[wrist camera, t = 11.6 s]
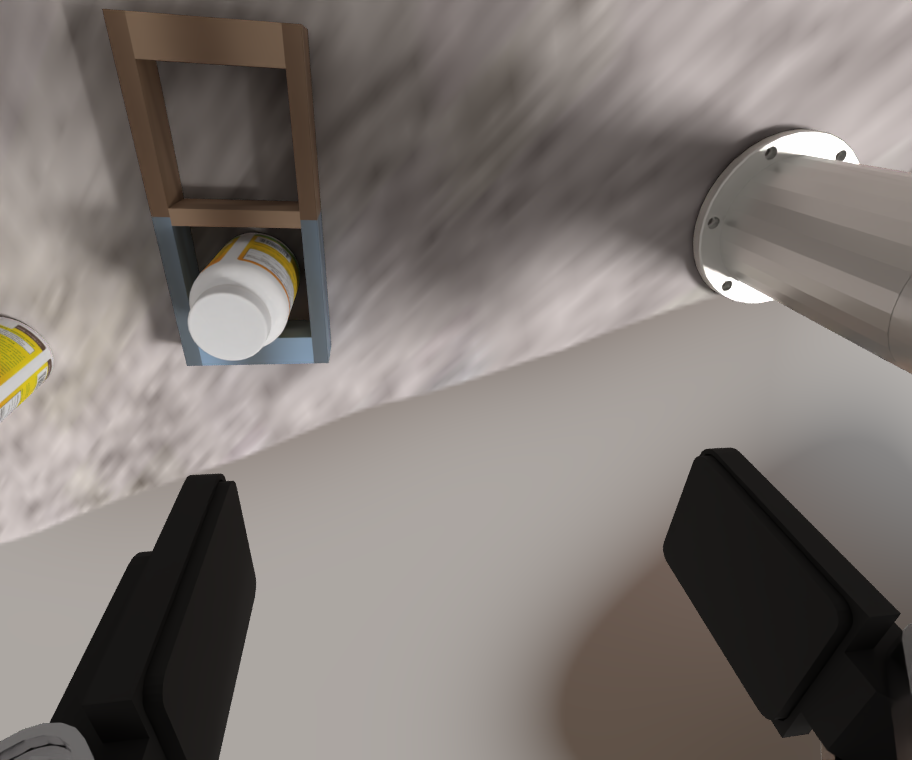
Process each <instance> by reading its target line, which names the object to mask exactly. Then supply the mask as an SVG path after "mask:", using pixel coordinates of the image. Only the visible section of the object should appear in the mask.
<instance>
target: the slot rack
mask: <svg viewBox="0 0 912 760" xmlns="http://www.w3.org/2000/svg"><path fill="white" fill-rule="evenodd" d="M102 10H103V15H104V19H105V23H106V27H107V31H108V36H109V40H110V44H111V48H112V52H113V57H114V61H115V65H116V69H117V73H118V78H119V82H120V86H121V90H122V94H123V99H124V103H125V107H126V111H127V115H128V120H129V124H130V128H131V132H132V137H133V141H134V145H135V149H136V153H137V158H138V162H139V166H140V170H141V174H142V179H143V183H144V187H145V191H146V195H147V200H148V204H149V208H150V212H151V216H152V221H153V225H154V229H155V233H156V237H157V242H158V246H159V250H160V254H161V259H162V263H163V267H164V271H165V275H166V280H167V284H168V288H169V292H170V296H171V301H172V305H173V309H174V313H175V317H176V322H177V326H178V330H179V334H180V338H181V343H182V347H183V351H184V355H185V359H186V364H187V366H202V365H251V364H300V363H329V357H330V350H331V334H330V321H329V307H328V294H327V281H326V268H325V254H324V241H323V228H322V215H321V201H320V188H319V175H318V161H317V148H316V135H315V122H314V108H313V95H312V82H311V69H310V55H309V42H308V29H307V28H305V27H304V26H303V25H302V24H291V23H278V22H265V21H252V20H239V19H226V18H213V17H201V16H188V15H175V14H162V13H149V12H136V11H123V10H110V9H102ZM156 61H169V62H185V63H200V64H216V65H231V66H247V67H262V68H278V69H286V76H287V87H288V97H289V108H290V118H291V128H292V139H293V149H294V160H295V170H296V180H297V191H298V201H265V200H227V199H189V198H184V196H183V191H182V186H181V181H180V176H179V171H178V166H177V161H176V156H175V152H174V147H173V142H172V137H171V132H170V127H169V122H168V117H167V112H166V107H165V102H164V97H163V92H162V88H161V83H160V78H159V73H158V68H157V63H156ZM190 226H202V227H256V228H301V232H302V243H303V253H304V264H305V274H306V285H307V295H308V305H309V316H310V320H288V321H287V323H286V326H285V328H284V330H283V331H282V333H281V334H280V335H279V336H278V337H277V338H276V339H275V340H274V341H273V342H271V343H270V344H268V345H266V346H264V347H262V348H261V349H260V351H259V352H257V353H256V354H255V355H253V356H251V357H249V358H246V359H243V360H236V361H230V360H223V359H219V358H216V357H214V356H211V355H210V354H208V353H206V352H205V351H203V350H202V349H201V348H200V347H199V346H198V345H197V344H196V343H195V342H194V340H193V338H192V337H191V334H190V332H189V329H188V315H189V311H190V305H189V297H190V291H191V288H192V286H193V283H194V282H195V280H196V279H197V277H198V276H199V270H198V265H197V260H196V255H195V250H194V245H193V240H192V235H191V230H190Z"/></svg>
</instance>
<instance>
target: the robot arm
mask: <svg viewBox="0 0 912 760" xmlns="http://www.w3.org/2000/svg"><path fill="white" fill-rule="evenodd" d="M693 251H694V258H695V262H696V267H697V269H698V271H699V273H700V275H701V277H702V279H703V280H704V281H705V283H706V284H707V285H708V286H709V287H710V288H711V289H712V290H714V291H715V292H717V293H718V294H720V295H721V296H723V297H726V298H728V299H730V300H732V301H736V302H740V303H762V302H767V301H772V300H775V301H777V302H779V303H781V304H783V305H784V306H787V307H788V308H790V309H792V310H794V311H795V312H797V313H799V314H801V315H803V316H805V317H807V318H809V319H810V320H812V321H814V322H816V323H818V324H819V325H821V326H823V327H825V328H827V329H829V330H831V331H832V332H835V333H836V334H838V335H840V336H842V337H843V338H845V339H847V340H849V341H851V342H853V343H855V344H856V345H858V346H860V347H862V348H864V349H866V350H867V351H869V352H871V353H873V354H875V355H877V356H879V357H880V358H882V359H884V360H886V361H888V362H890V363H892V364H894V365H895V366H897V367H899V368H901V369H903V370H905V371H907V372H909V373H911V374H912V173H910V172H904V171H898V170H892V169H886V168H880V167H874V166H868V165H862V164H859V161H858V159H857V157H856V155H855V154H854V152H853V150H852V149H851V148H850V147H849V146H848V145H847V144H846V143H845V142H844V141H843V140H842V139H840V138H838V137H836V136H834V135H832V134H830V133H827V132H822V131H816V130H803V129H797V130H791V131H785V132H781V133H778V134H775V135H773V136H770V137H767V138H765V139H763V140H762V141H760V142H758V143H756V144H755V145H753V146H751V147H750V148H748V149H747V150H746V151H744V152H743V153H742V154H741V155H740V156H738V157H737V158H736V159H735V160H734V161H733V162H732V163H731V164H730V165H729V166H728V167H727V168H726V169H725V170H724V171H723V172H722V174H721V175H720V176H719V177H718V179H717V180H716V182H715V183H714V185H713V186H712V188H711V189H710V190H709V192H708V194H707V196H706V198H705V200H704V202H703V204H702V206H701V209H700V212H699V215H698V218H697V221H696V225H695V231H694V238H693ZM663 552H664V556H665V559H666V561H667V563H668V565H669V566H670V568H671V569H672V571H673V573H674V574H675V576H676V577H677V579H678V581H679V582H680V584H681V585H682V587H683V588H684V590H685V592H686V594H687V595H688V597H689V599H690V600H691V602H692V603H693V605H694V607H695V608H696V610H697V611H698V613H699V615H700V616H701V618H702V619H703V621H704V623H705V624H706V626H707V628H708V629H709V631H710V632H711V634H712V636H713V637H714V639H715V641H716V642H717V644H718V645H719V647H720V649H721V650H722V652H723V654H724V655H725V657H726V658H727V660H728V662H729V663H730V665H731V666H732V668H733V670H734V671H735V673H736V675H737V676H738V678H739V679H740V681H741V683H742V684H743V685H744V688H745V689H746V691H747V692H748V694H749V696H750V697H751V699H752V700H753V702H754V704H755V705H756V707H757V708H758V710H759V711H760V712H761V714H762V715H763V716H765V718H767V719H769V720H771V721H772V722H773V724H774V726H775V727H776V729H777V730H778V732H779V734H780V735H781V737H782V738H785V737H791V736H798V735H805V734H809V732H810V731H811V730H812V729H813V731H814V732H815V734H816V735H817V737H818V738H819V740H820V741H821V760H912V624H909V625H908V626H907V627H906V628H905V629H904V630H903V631H902V630H901V629H900V628H899V627H898V626H897V625H896V624H895V623H894V622H895V621H896V619H897V618H898V617H899V615H900V612H899V611H898V610H896V609H895V607H894V606H893V605H892V604H891V603H890V602H889V601H888V600H887V599H886V598H884V596H883V595H882V594H881V593H879V591H878V590H876V588H875V587H874V586H873V585H872V584H871V583H870V582H869V581H868V580H867V579H866V578H865V577H864V576H863V575H862V574H861V573H860V572H859V571H858V570H857V569H856V568H855V567H854V566H853V565H852V564H851V563H850V562H849V561H848V560H847V559H846V558H845V557H844V556H843V555H842V554H841V553H840V552H839V551H838V550H837V549H836V548H835V547H834V546H833V545H832V544H831V543H830V542H829V541H828V540H827V539H826V538H825V537H824V536H823V535H822V534H821V533H820V532H819V531H818V530H817V529H816V528H815V527H814V526H813V525H812V524H811V523H810V522H809V521H808V520H807V519H806V518H805V517H804V516H803V515H802V514H801V513H800V512H799V511H798V510H797V509H796V508H795V507H794V506H793V505H792V504H791V503H790V502H789V501H788V500H787V499H786V498H785V497H784V496H783V495H782V494H781V493H780V492H779V491H778V490H777V489H776V488H775V487H774V486H773V485H772V484H771V483H770V482H769V481H768V480H767V479H766V478H765V477H764V476H763V475H762V474H761V473H760V472H759V471H758V470H757V469H756V468H755V467H754V466H753V465H752V464H751V463H750V462H749V461H748V460H747V459H746V458H745V457H744V456H743V455H742V454H741V453H740V452H739V451H738V450H736V449H734V448H714V449H705V450H704V451H702V452H701V454H700V456H698V457H696V458H695V460H694V462H693V464H692V467H691V470H690V472H689V475H688V478H687V481H686V483H685V486H684V489H683V492H682V494H681V497H680V500H679V503H678V505H677V508H676V511H675V514H674V516H673V519H672V522H671V524H670V527H669V530H668V533H667V535H666V538H665V541H664V545H663ZM255 590H256V577H255V572H254V567H253V563H252V558H251V553H250V549H249V543H248V539H247V534H246V529H245V525H244V520H243V515H242V510H241V505H240V501H239V496H238V491H237V487H236V483H235V482H234V481H226V480H225V477H224V475H223V474H205V475H190V476H188V477H187V478H186V480H185V482H184V484H183V486H182V488H181V490H180V492H179V495H178V497H177V499H176V501H175V503H174V505H173V508H172V510H171V512H170V514H169V516H168V519H167V521H166V523H165V525H164V527H163V529H162V532H161V534H160V536H159V538H158V540H157V543H156V544H155V547H154V549H153V551H150V552H140V553H138V554H136V555H135V556H134V557H133V559H132V560H131V562H130V563H129V565H128V567H127V569H126V571H125V573H124V575H123V577H122V579H121V581H120V583H119V585H118V587H117V589H116V591H115V593H114V595H113V597H112V599H111V601H110V603H109V605H108V607H107V609H106V611H105V613H104V615H103V617H102V619H101V621H100V623H99V625H98V627H97V629H96V631H95V633H94V635H93V637H92V639H91V641H90V643H89V645H88V647H87V649H86V651H85V653H84V655H83V657H82V659H81V661H80V663H79V665H78V667H77V669H76V671H75V673H74V675H73V677H72V679H71V681H70V683H69V685H68V687H67V689H66V691H65V693H64V695H63V697H62V699H61V701H60V703H59V705H58V707H57V709H56V711H55V713H54V715H53V717H52V719H51V721H50V723H43V724H39V725H36V726H33V727H29V728H26V729H23V730H21V731H19V732H17V733H15V734H13V735H11V736H10V737H8V738H6V739H4V740H2V741H0V760H219V755H220V751H221V746H222V742H223V737H224V733H225V728H226V723H227V719H228V715H229V710H230V706H231V701H232V697H233V692H234V688H235V683H236V679H237V674H238V670H239V665H240V661H241V656H242V651H243V648H244V643H245V639H246V634H247V630H248V625H249V621H250V616H251V612H252V607H253V603H254V598H255Z"/></svg>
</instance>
